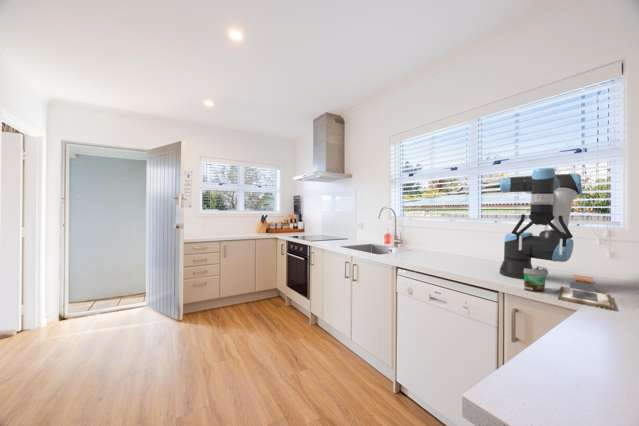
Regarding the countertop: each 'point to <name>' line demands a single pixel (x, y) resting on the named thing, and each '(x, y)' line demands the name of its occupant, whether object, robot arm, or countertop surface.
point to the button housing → (583, 285)
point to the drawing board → (586, 298)
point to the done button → (583, 279)
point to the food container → (535, 279)
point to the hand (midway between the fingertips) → (539, 252)
